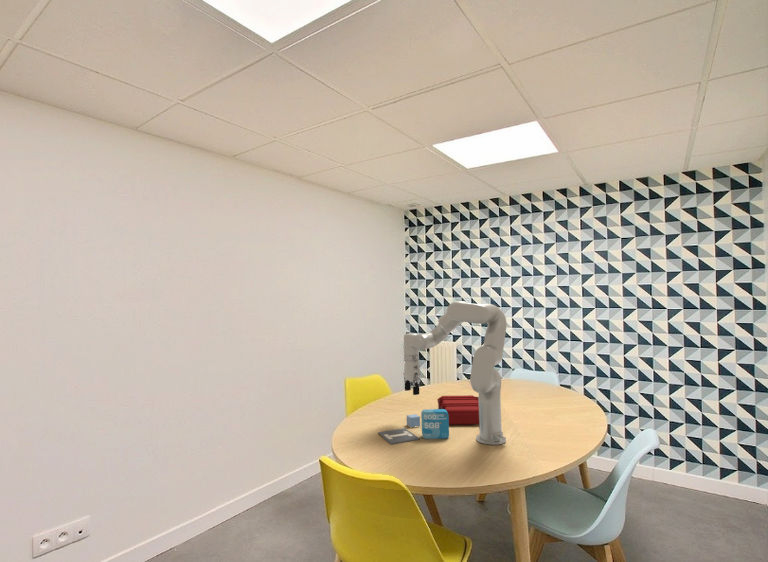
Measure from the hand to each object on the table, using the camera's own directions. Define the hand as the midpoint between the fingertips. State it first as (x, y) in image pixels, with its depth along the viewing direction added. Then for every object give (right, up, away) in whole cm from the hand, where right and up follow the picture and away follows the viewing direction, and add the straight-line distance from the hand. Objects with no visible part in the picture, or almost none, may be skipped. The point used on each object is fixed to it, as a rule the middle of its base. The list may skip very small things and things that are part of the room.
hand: (411, 392), depth 197 cm
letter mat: (-7, -16, -16) cm, 24 cm away
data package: (+9, -16, -18) cm, 26 cm away
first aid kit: (+28, -17, +13) cm, 35 cm away
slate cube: (+1, -17, -1) cm, 17 cm away
